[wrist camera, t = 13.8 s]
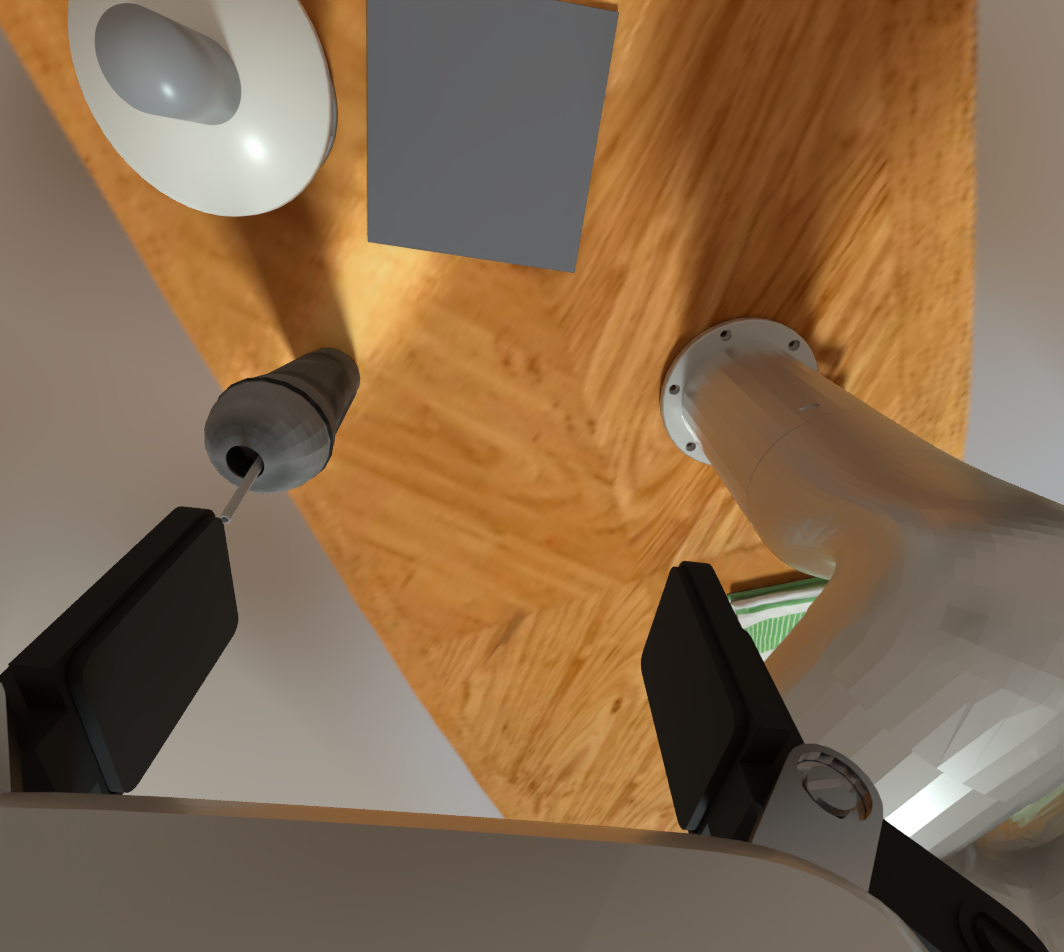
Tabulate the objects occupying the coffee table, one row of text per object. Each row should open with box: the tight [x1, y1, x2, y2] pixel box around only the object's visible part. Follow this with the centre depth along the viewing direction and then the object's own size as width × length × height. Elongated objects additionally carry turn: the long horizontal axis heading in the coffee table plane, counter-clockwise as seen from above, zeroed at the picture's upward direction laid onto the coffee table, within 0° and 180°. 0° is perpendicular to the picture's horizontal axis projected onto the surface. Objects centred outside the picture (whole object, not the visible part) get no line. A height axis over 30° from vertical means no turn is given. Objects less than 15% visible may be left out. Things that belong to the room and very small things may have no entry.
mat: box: [367, 0, 619, 273], centre depth 35 cm, size 15×15×1 cm
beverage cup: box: [204, 348, 360, 524], centre depth 35 cm, size 7×7×20 cm
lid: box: [68, 0, 333, 217], centre depth 27 cm, size 13×13×6 cm
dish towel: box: [727, 577, 830, 661], centre depth 59 cm, size 18×23×3 cm
